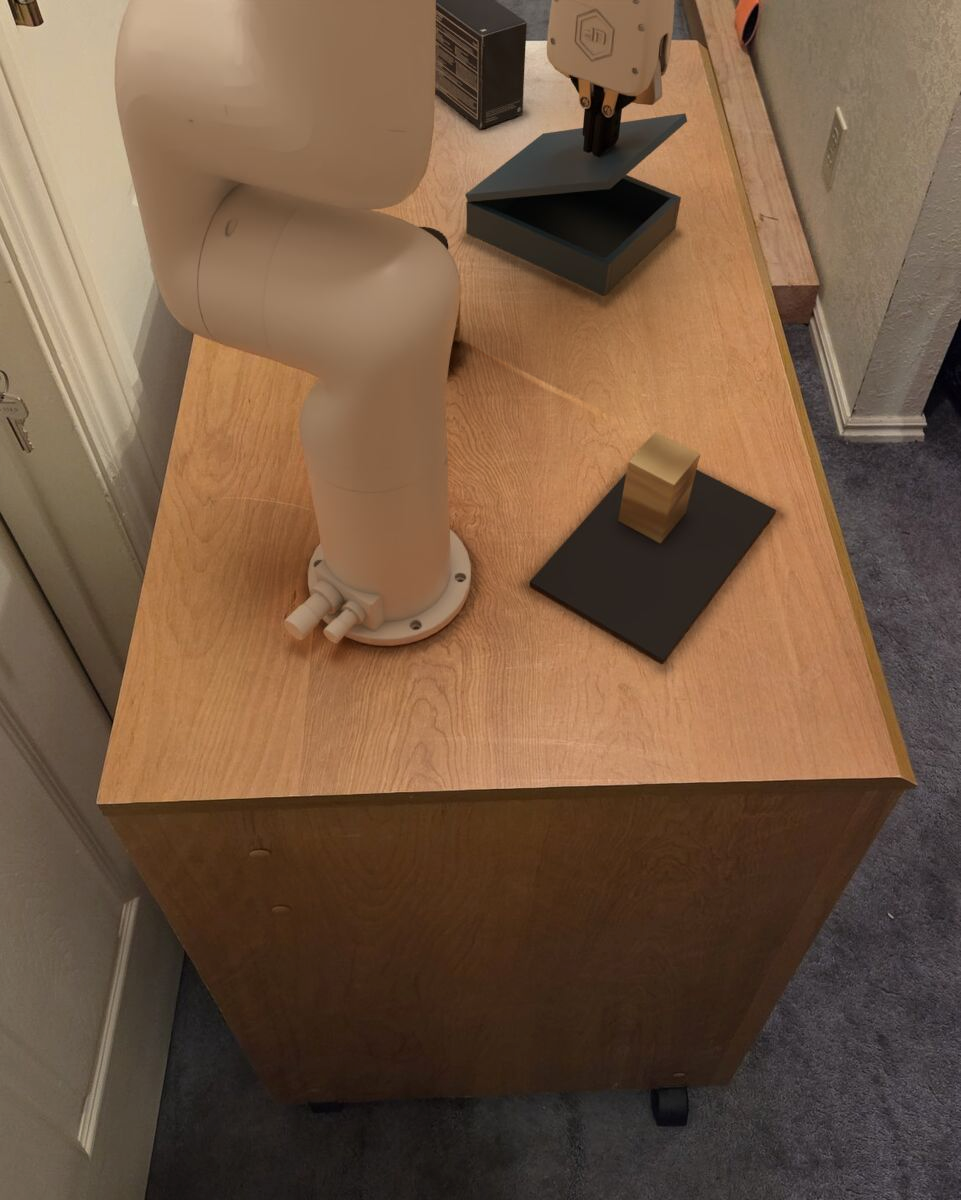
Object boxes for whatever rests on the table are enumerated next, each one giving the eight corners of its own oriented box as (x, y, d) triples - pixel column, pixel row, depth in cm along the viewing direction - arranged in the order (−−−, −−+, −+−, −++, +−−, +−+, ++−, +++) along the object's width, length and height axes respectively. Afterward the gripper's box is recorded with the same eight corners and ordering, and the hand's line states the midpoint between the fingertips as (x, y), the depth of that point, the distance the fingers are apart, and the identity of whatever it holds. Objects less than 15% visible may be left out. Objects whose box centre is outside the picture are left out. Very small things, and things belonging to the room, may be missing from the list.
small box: (527, 114, 120) (531, 20, 112) (480, 131, 118) (481, 37, 109) (475, 74, 125) (475, -19, 117) (430, 90, 123) (426, -3, 115)
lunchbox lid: (687, 121, 98) (685, 112, 97) (610, 189, 91) (607, 180, 91) (545, 140, 109) (542, 133, 109) (467, 202, 103) (464, 194, 102)
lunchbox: (674, 234, 107) (681, 197, 104) (603, 302, 101) (608, 265, 97) (541, 178, 113) (543, 141, 109) (466, 239, 106) (466, 202, 103)
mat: (662, 664, 77) (663, 659, 76) (529, 585, 81) (529, 581, 80) (774, 514, 85) (776, 509, 85) (649, 450, 89) (650, 445, 89)
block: (660, 544, 83) (674, 485, 77) (617, 521, 84) (628, 461, 78) (685, 513, 84) (700, 453, 79) (643, 491, 86) (655, 430, 80)
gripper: (517, -78, 83) (510, 139, 98) (680, -26, 78) (647, 194, 93) (569, -109, 87) (555, 105, 102) (728, -61, 82) (689, 156, 96)
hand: (599, 147), depth 97 cm, fingers closed
